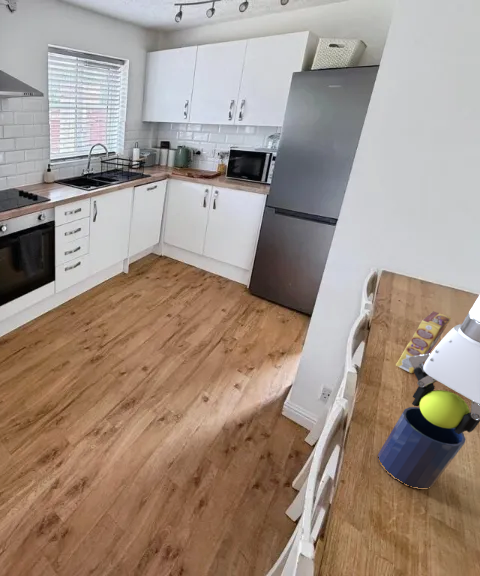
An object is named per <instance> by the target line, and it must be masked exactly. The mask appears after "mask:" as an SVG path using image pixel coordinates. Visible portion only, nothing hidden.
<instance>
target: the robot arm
mask: <svg viewBox="0 0 480 576" xmlns="http://www.w3.org/2000/svg"><path fill="white" fill-rule="evenodd" d="M409 361H410V363H411V365H412V367H413V368H414V372H413V374H414V375H415V377H416V380H417V382H416V383H417V386H418V387H417V388H416V390H415V391H414V392H413V393H414V394H413V395H412V398H413V399H414V400H412V402H411V405H412V406H413V407H420V400H421V399H422V397H423V396H424V395H425V394H426V393H428V392H430V391H434V390H435V386H436V385H435V383H436V382H438V383H440V384H442V385H443V386H445V387H446V388H449V389H450V390H453V391H454V392H456V393H458V394H459V395H461V396H463V397H465V398H466V399H468V400H469V401H471V402H470V403H471V405H470V413H468V414H466V415H465V416H464V417H463V418H462V420H461V421H460V423H459V424H458V425H457V427H456V428H455V430H454V431H455V432H456V433H457V434H460V433H462V432H463V433H464V432H468V433H471V432H473V431H474V430H475V429H476V428H477V426H478V425H479V424H480V294H479V295H478V297H477V298H476V300H475V302H474V303H473V305H472V306H471V308H470V310H469V312H468V313H467V314H466V316H465V317H464V319H463V321H462V323H459V324H457V325H454V327H453V328H451V329H450V330H449V331H448V332H447V333H446V334H445V335H444V337H443V338H441V340H440V341H439V343H438V344H437V345H435V347H434V349H432V350H431V352H430V353H427V354H421V355H414V356H412V357H409ZM423 362H424V363H423Z"/></svg>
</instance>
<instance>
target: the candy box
mask: <svg viewBox="0 0 480 576" xmlns="http://www.w3.org/2000/svg"><path fill="white" fill-rule="evenodd" d="M451 320H452V317H450V316H448V315H446V314H443V313H440V312H437V311H432V312H430V313H429V314H428V315H427V316H426V317H425V318H423V319H422V320H421V321H420V323H419V325H418V327H417V328H416V330H415V332H414V333H413V335H412V336H411V339H410V340H409V342H408V343H407V345H406V347H405V348H404V350H403V352H402V353H401V355H400V357H399V359H398V361H397V362H396V363H395V367H397V368H399V369H401V370H402V371H405V372H407V373H409V374H414V368H413V367H412V365H411V363H410V361H409V357H412V356H414V355H421V354H427V353H432V351H433V350H434V349H433V348H435V346H436V344H437V342H438V341H439V340H440V337H442V334H443V333H444V331H445V329H446V328H447V326H448V325H449V324H450V321H451ZM423 364H425V362H423Z"/></svg>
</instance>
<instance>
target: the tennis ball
mask: <svg viewBox="0 0 480 576" xmlns="http://www.w3.org/2000/svg"><path fill="white" fill-rule="evenodd" d="M419 408H420V410H421V413H422V414H423V416H424V417H425V418H426V419H427V420H428V421H429V422H431V423H432V424H434V425H436V426H439V427H442V428H456V427H457V425H458V424H459V423H460V421H461V420H462V418H463V417H464V416H465V415H466V414H468V413H470V412H471V409H470V408H469V405H468V404H467V402H466V401H465V400H464V398H462V397H461V396H460V395H458V394H456V393H454V392H452V391H448V390H444V389H436V390H435V389H434V390H433V391H430V392H428V393H426V394H425V395H424V396H423V397H422V399H421V400H420V405H419Z"/></svg>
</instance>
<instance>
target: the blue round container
mask: <svg viewBox="0 0 480 576" xmlns="http://www.w3.org/2000/svg"><path fill="white" fill-rule="evenodd" d="M396 421H397V422H396V423H395V424H394V427H393V428H392V430H391V431H390V433H389V435H388V436H387V438H386V440H385V442H384V443H383V445H382V447H381V448H380V450H379V451H378V454H377V457H378V456H379V460H380V462H381V463H382V465H383V466H384V467H385V469H386V470H387V471H388V472H389V473H391V474H392V475H393V476H394V477H395V478H397V479H399V480H400V481H402V482H403V483H405V484H407V485H409V486H412V487H418V488H429V487H431V486H432V487H433V486H435V484H436V482H438V480H439V479H440V477H441V476H442V474H443V473H444V472H445V471H446V469H447V468H448V467H449V465H450V464H451V462H452V461H453V459H454V458H455V457H456V456H457V454H458V453H459V452H460V450H461V449H462V447H463V446H464V445H465V443H466V436H465V434H464V432H462V433H460V434H457V433H456V432H455V431H454V430H455V428H442V427H439V426H436V425H434V424H432V423H431V422H429V421H428V420H427V419H426V418H425V417H424V416H423V414H422V413H421V410H420V406H409V407H407V408H405V409H403V411H402V413H401V415H400V416H399V418H398V420H396ZM432 487H431V488H432Z"/></svg>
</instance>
